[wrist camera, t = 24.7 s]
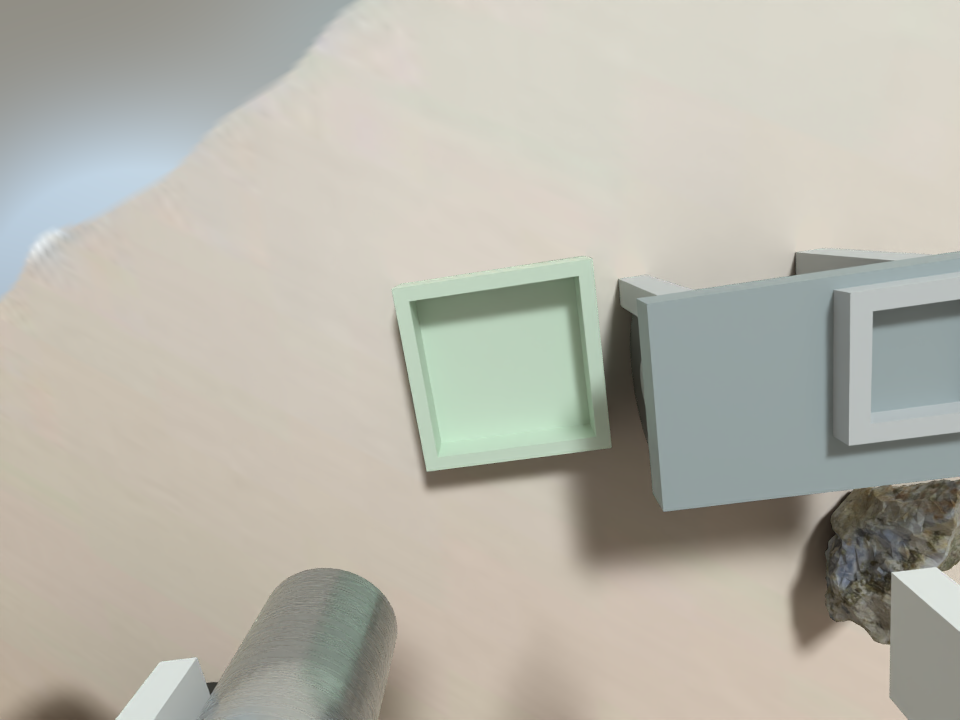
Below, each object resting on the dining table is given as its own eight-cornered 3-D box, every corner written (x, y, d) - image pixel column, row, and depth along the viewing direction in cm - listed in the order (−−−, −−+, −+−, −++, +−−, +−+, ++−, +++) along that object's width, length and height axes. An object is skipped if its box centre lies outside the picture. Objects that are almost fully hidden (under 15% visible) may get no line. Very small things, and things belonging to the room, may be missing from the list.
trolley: (613, 438, 33) (672, 546, 22) (597, 278, 31) (654, 307, 20) (845, 408, 32) (1031, 504, 21) (846, 241, 30) (1056, 249, 19)
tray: (432, 452, 34) (426, 471, 31) (400, 284, 31) (391, 288, 29) (602, 430, 33) (611, 447, 31) (584, 255, 31) (592, 258, 28)
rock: (998, 496, 25) (1024, 498, 31) (862, 428, 29) (908, 442, 35) (862, 678, 27) (911, 646, 34) (756, 590, 32) (817, 577, 38)
